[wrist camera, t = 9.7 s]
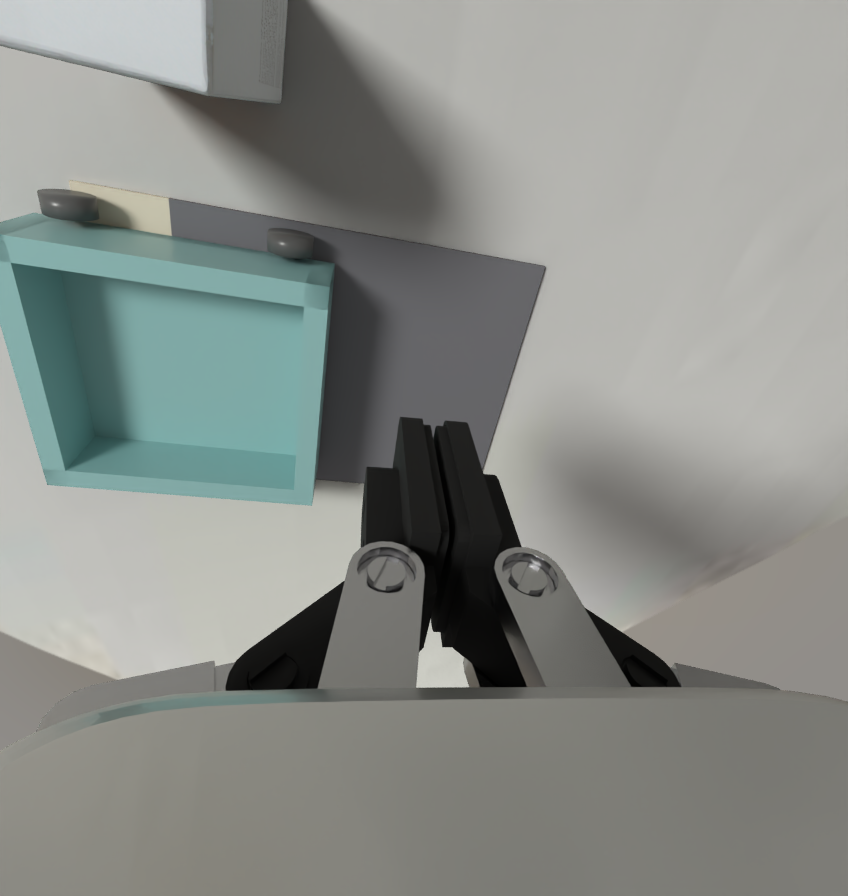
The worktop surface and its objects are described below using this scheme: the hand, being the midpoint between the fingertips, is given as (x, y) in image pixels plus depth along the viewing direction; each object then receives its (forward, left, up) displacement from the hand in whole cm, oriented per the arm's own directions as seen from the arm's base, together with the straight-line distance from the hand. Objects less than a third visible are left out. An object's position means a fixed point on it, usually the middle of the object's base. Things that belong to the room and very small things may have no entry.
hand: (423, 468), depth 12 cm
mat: (+4, +5, -16) cm, 17 cm away
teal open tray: (+10, +5, -16) cm, 19 cm away
